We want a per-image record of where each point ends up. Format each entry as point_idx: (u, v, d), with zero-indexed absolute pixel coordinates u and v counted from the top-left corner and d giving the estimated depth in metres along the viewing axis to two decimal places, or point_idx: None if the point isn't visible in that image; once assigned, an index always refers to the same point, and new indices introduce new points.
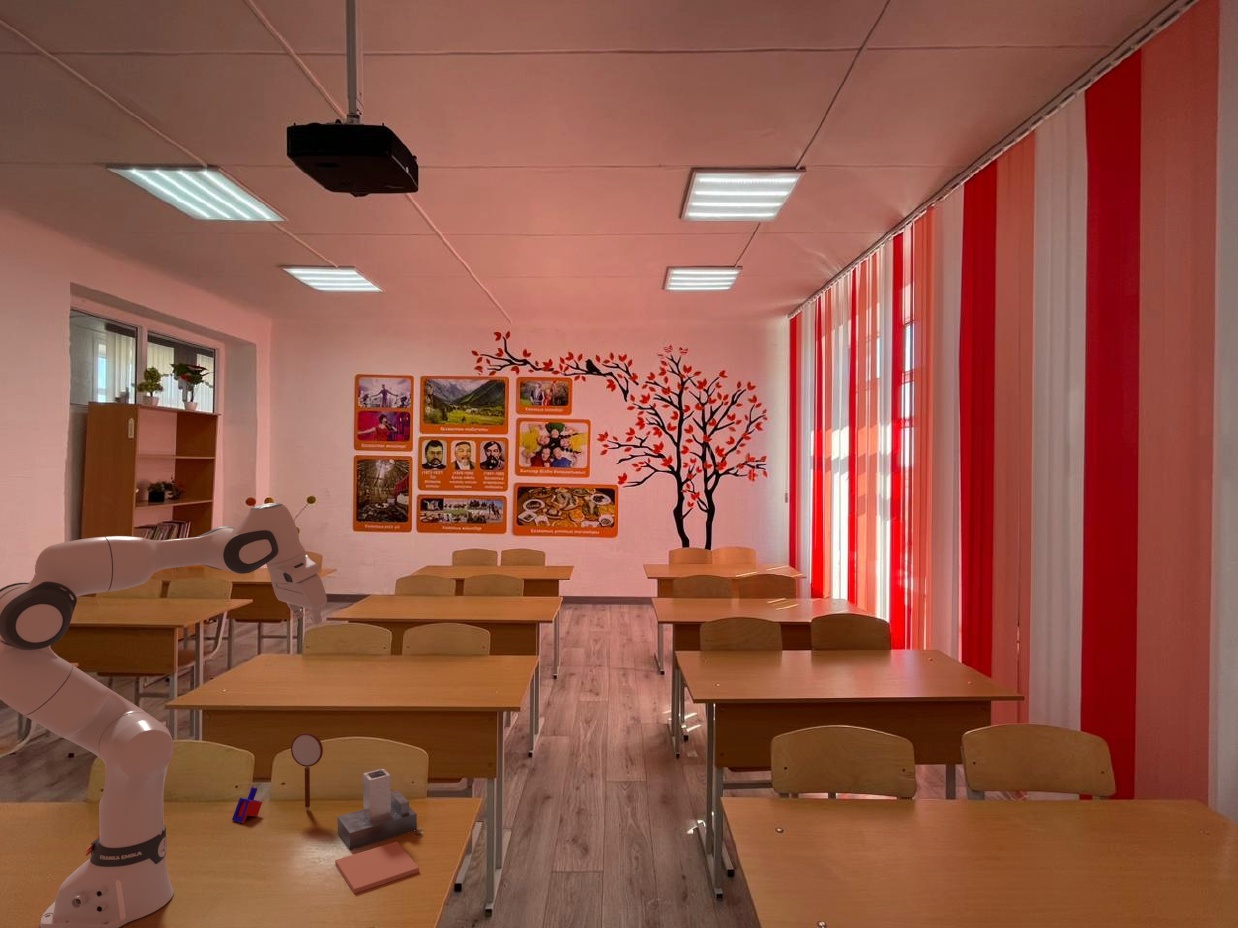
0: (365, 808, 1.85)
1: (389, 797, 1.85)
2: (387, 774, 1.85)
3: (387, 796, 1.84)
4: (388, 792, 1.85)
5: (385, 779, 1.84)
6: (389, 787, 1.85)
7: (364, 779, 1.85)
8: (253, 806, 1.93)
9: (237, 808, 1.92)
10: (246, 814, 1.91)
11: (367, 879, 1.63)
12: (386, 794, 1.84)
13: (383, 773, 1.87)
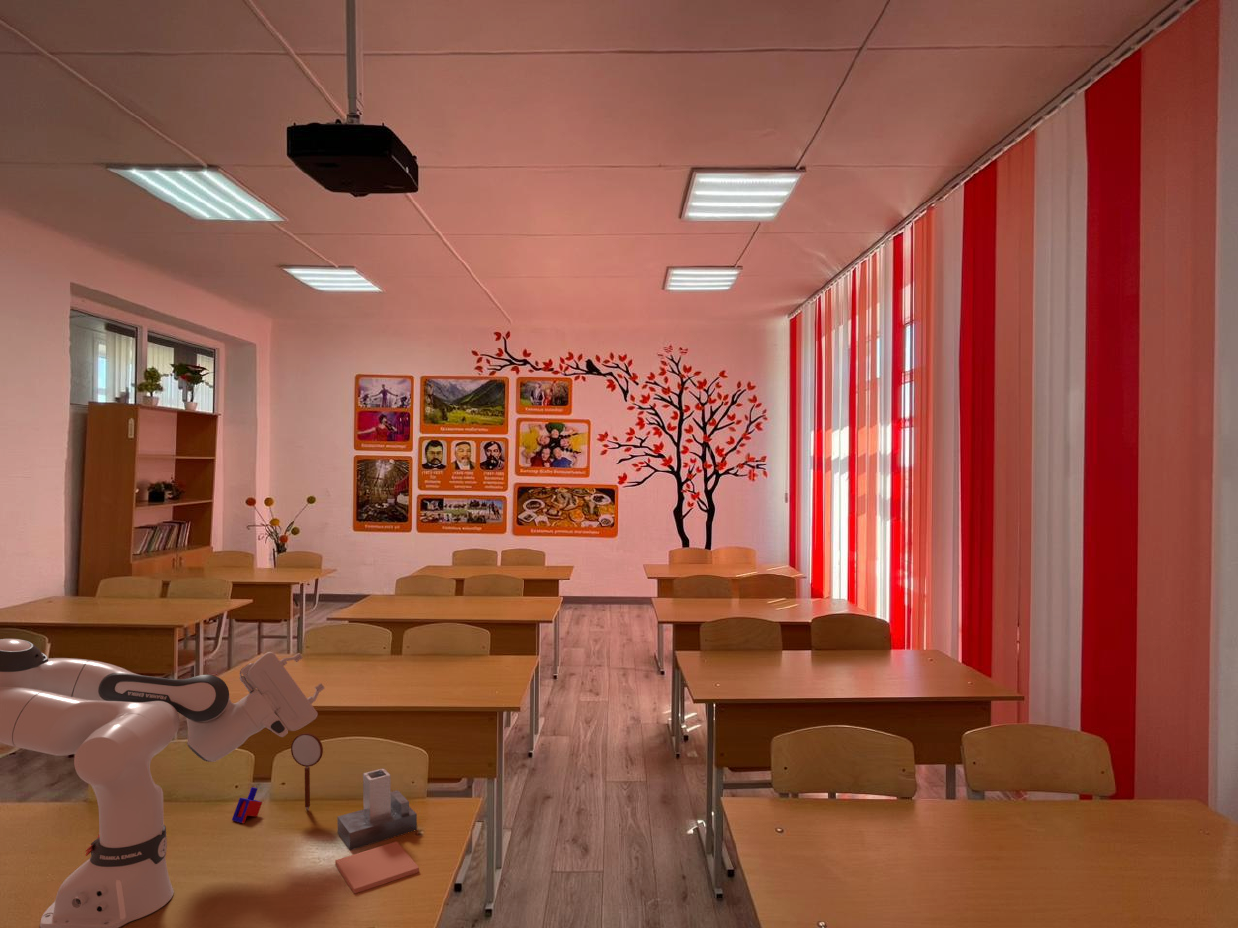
0: (365, 808, 1.85)
1: (389, 797, 1.85)
2: (387, 774, 1.85)
3: (387, 796, 1.84)
4: (388, 792, 1.85)
5: (385, 779, 1.84)
6: (389, 787, 1.85)
7: (364, 779, 1.85)
8: (253, 806, 1.93)
9: (237, 808, 1.92)
10: (246, 814, 1.91)
11: (367, 879, 1.63)
12: (386, 794, 1.84)
13: (383, 773, 1.87)
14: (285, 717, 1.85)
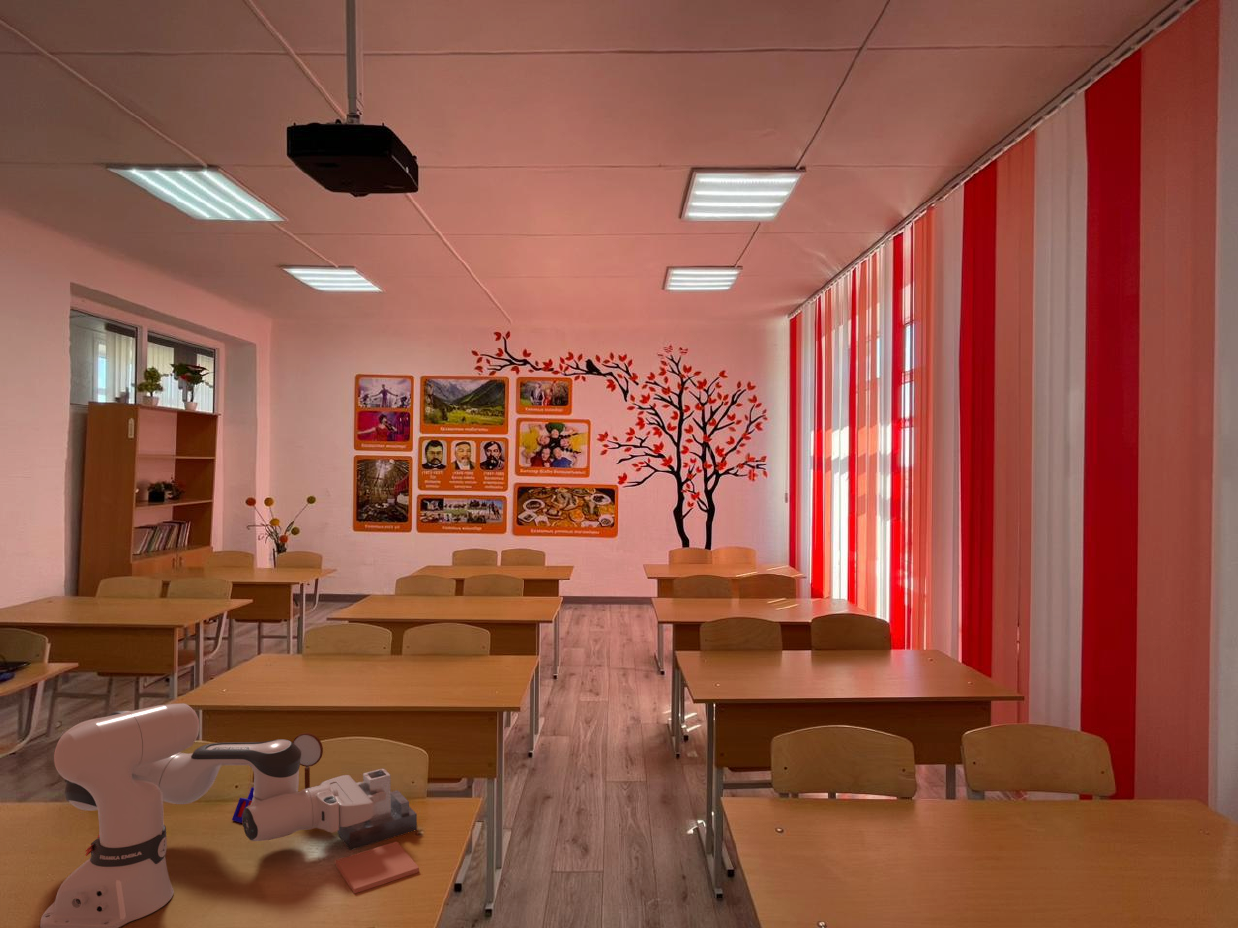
0: None
1: (389, 797, 1.85)
2: (387, 774, 1.85)
3: (387, 796, 1.84)
4: (388, 792, 1.85)
5: (385, 779, 1.84)
6: (389, 787, 1.85)
7: (364, 779, 1.85)
8: None
9: (237, 808, 1.92)
10: None
11: (367, 879, 1.63)
12: (386, 794, 1.84)
13: (383, 773, 1.87)
14: (340, 799, 1.75)
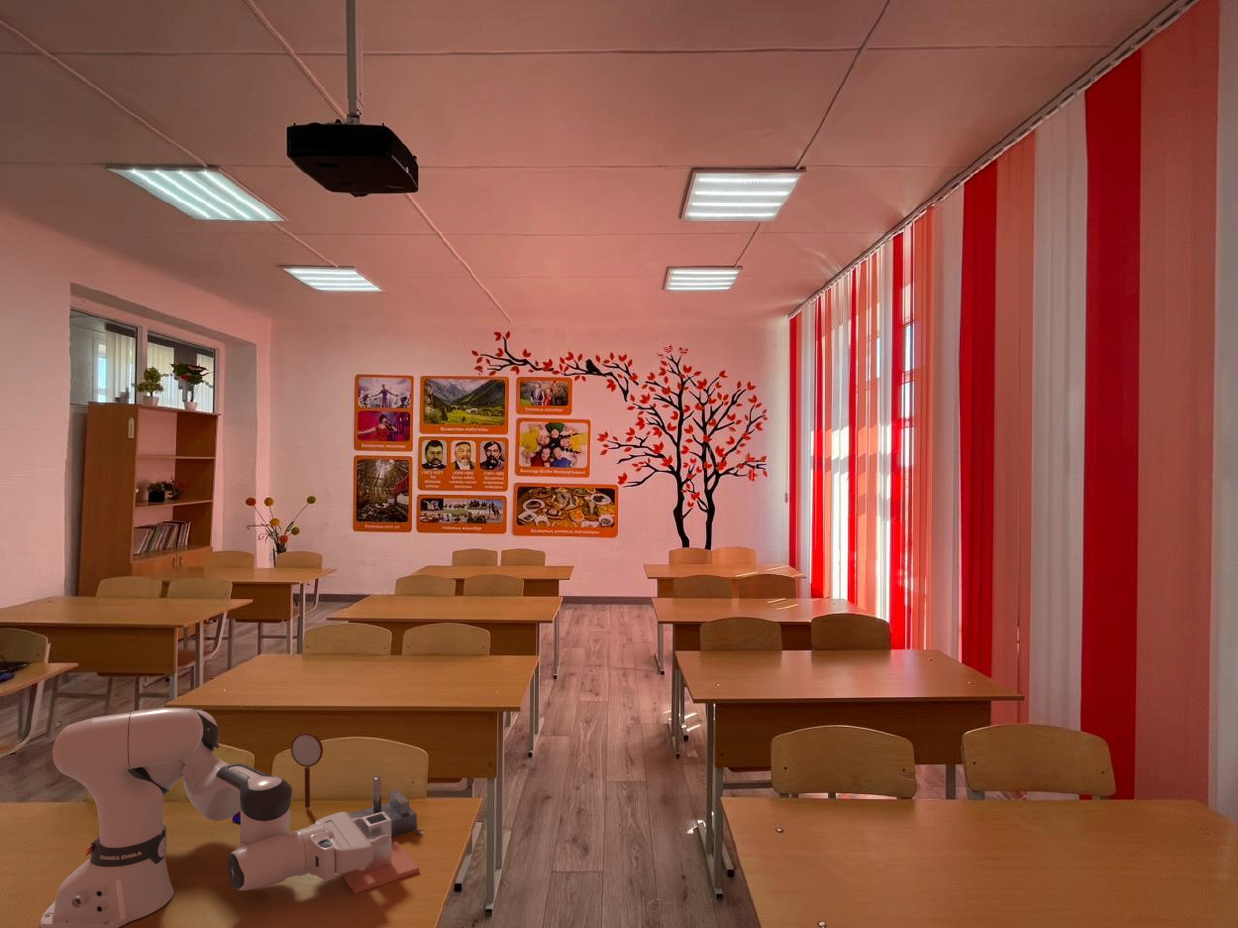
0: None
1: (390, 844, 1.68)
2: (388, 819, 1.69)
3: (388, 843, 1.68)
4: (389, 839, 1.68)
5: (385, 824, 1.68)
6: (390, 833, 1.68)
7: (362, 824, 1.69)
8: None
9: None
10: None
11: (367, 879, 1.63)
12: None
13: (383, 817, 1.70)
14: (336, 842, 1.59)
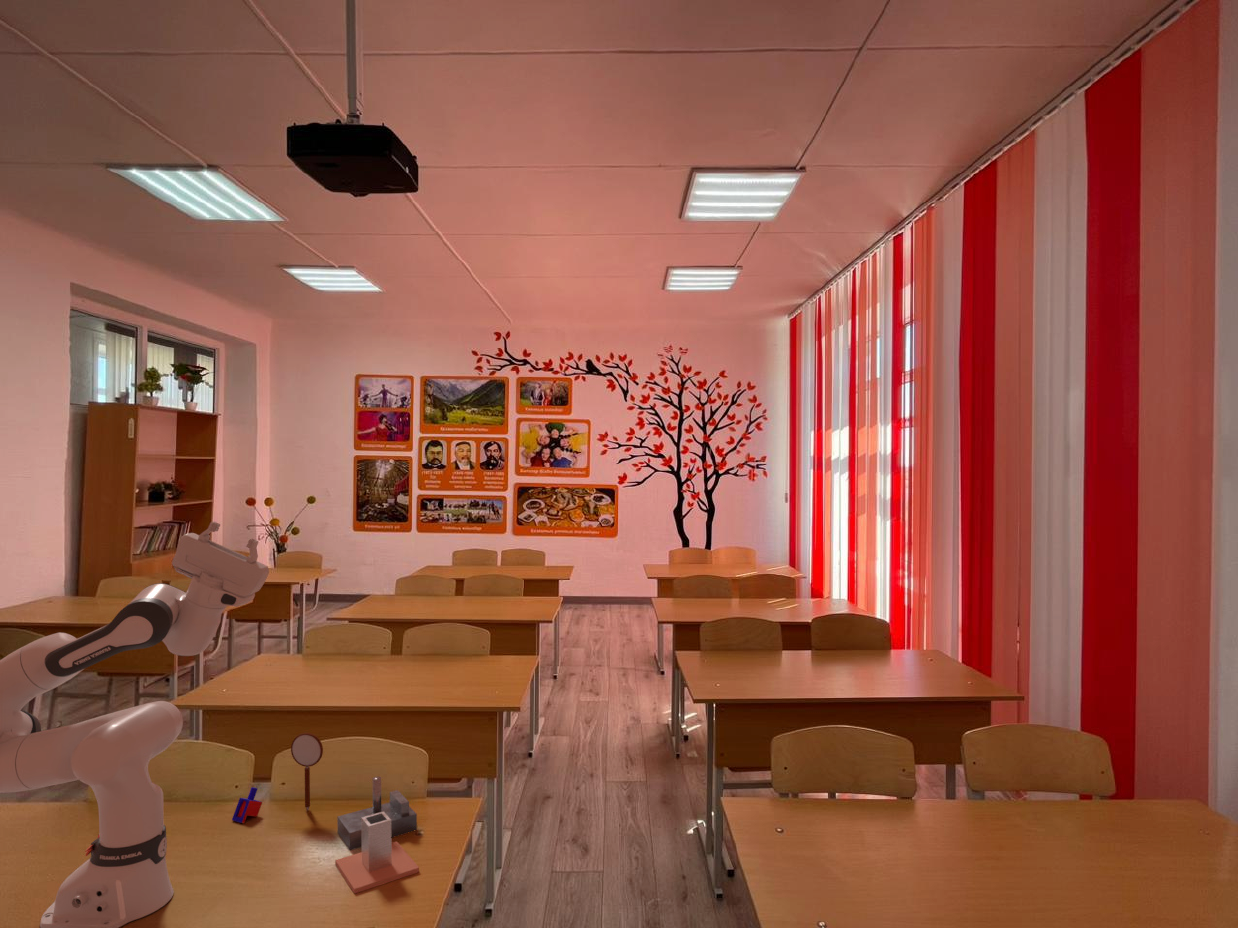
0: (363, 856, 1.68)
1: (390, 844, 1.68)
2: (388, 819, 1.69)
3: (388, 843, 1.68)
4: (389, 839, 1.68)
5: (385, 824, 1.68)
6: (390, 833, 1.68)
7: (362, 824, 1.69)
8: (253, 806, 1.93)
9: (237, 808, 1.92)
10: (246, 814, 1.91)
11: (367, 879, 1.63)
12: (386, 841, 1.68)
13: (383, 817, 1.70)
14: (231, 587, 1.69)
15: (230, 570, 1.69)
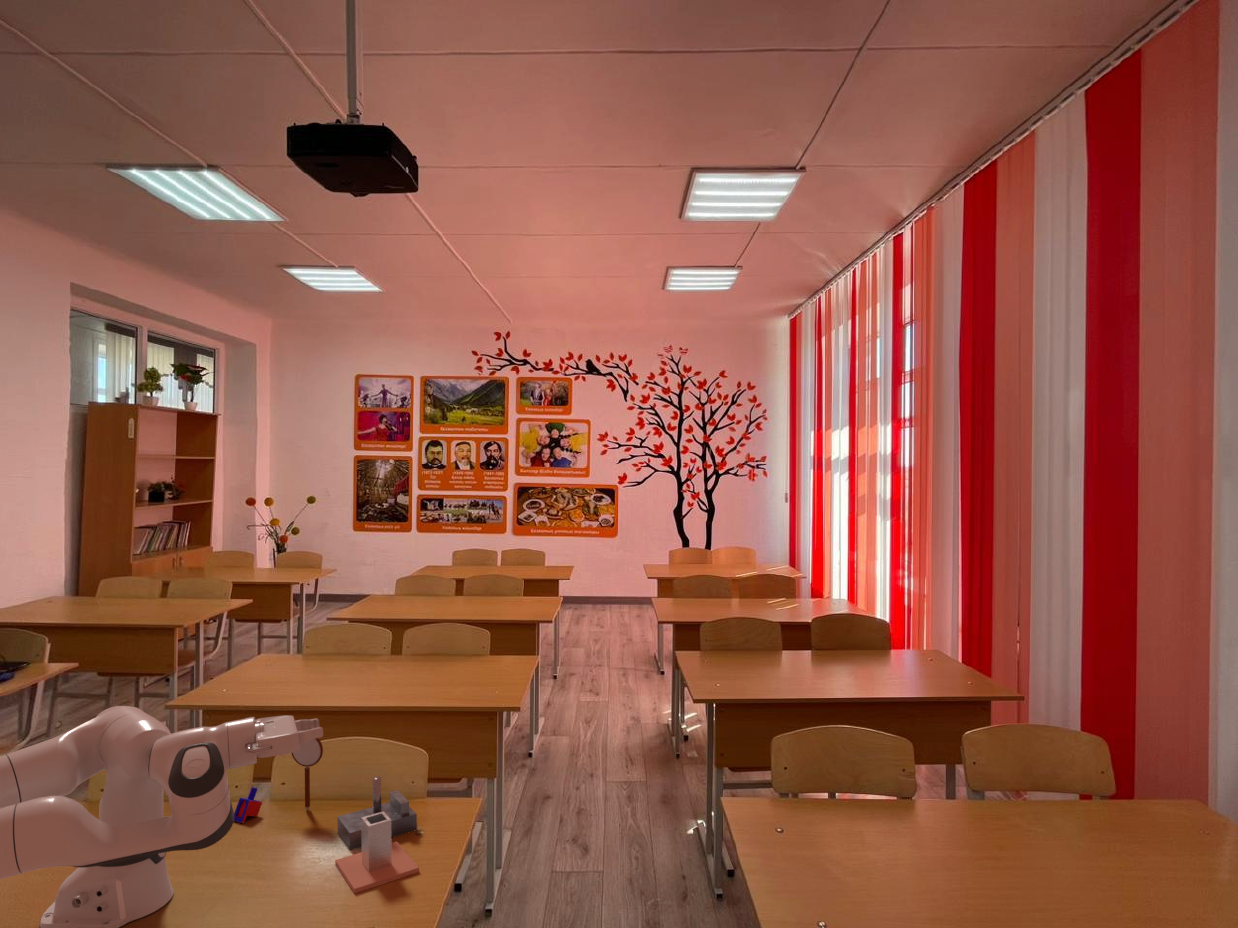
0: (363, 856, 1.68)
1: (390, 844, 1.68)
2: (388, 819, 1.69)
3: (388, 843, 1.68)
4: (389, 839, 1.68)
5: (385, 824, 1.68)
6: (390, 833, 1.68)
7: (362, 824, 1.69)
8: (253, 806, 1.93)
9: (237, 808, 1.92)
10: (246, 814, 1.91)
11: (367, 879, 1.63)
12: (386, 841, 1.68)
13: (383, 817, 1.70)
14: None
15: None
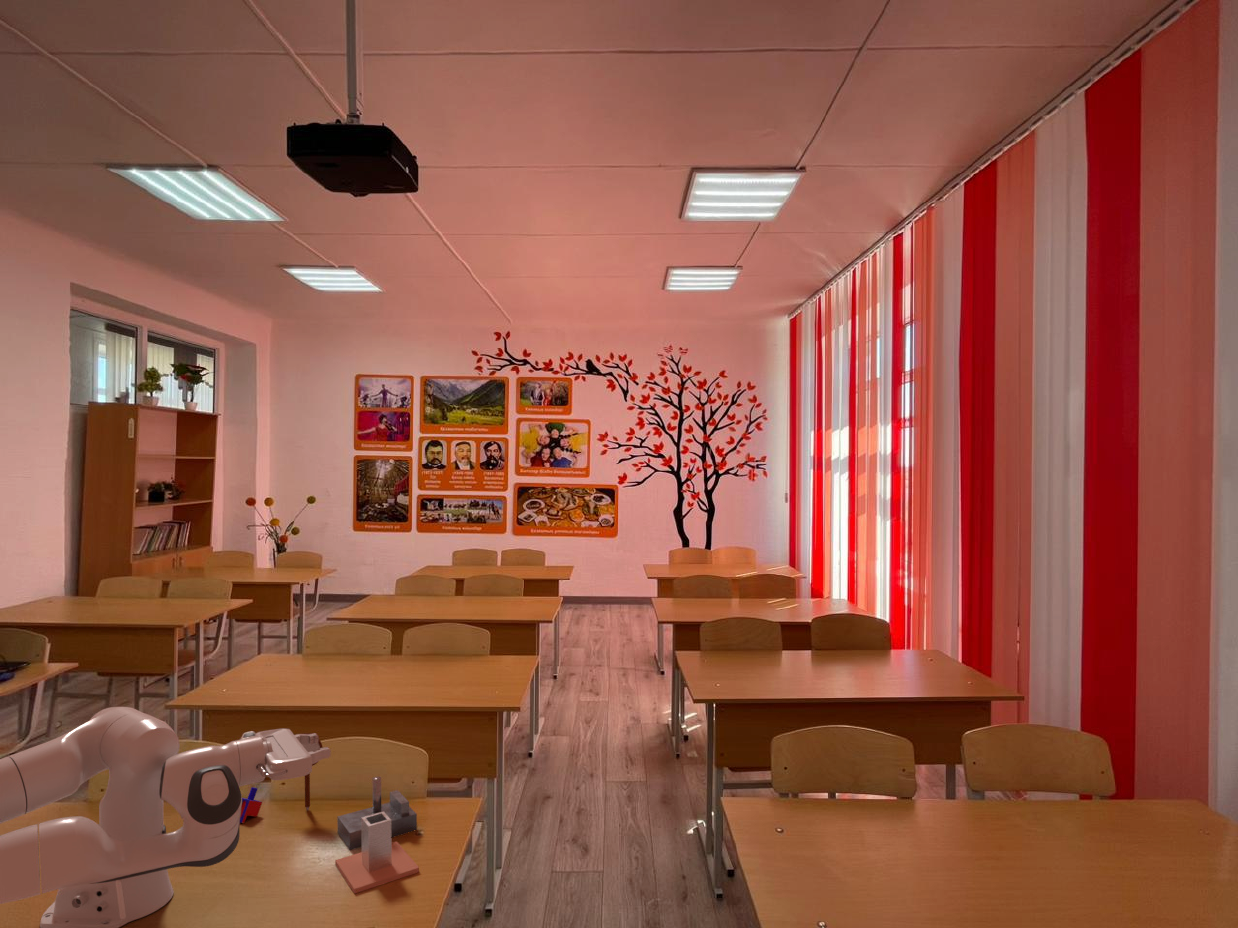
0: (363, 856, 1.68)
1: (390, 844, 1.68)
2: (388, 819, 1.69)
3: (388, 843, 1.68)
4: (389, 839, 1.68)
5: (385, 824, 1.68)
6: (390, 833, 1.68)
7: (362, 824, 1.69)
8: (253, 806, 1.93)
9: None
10: (246, 814, 1.91)
11: (367, 879, 1.63)
12: (386, 841, 1.68)
13: (383, 817, 1.70)
14: None
15: None
